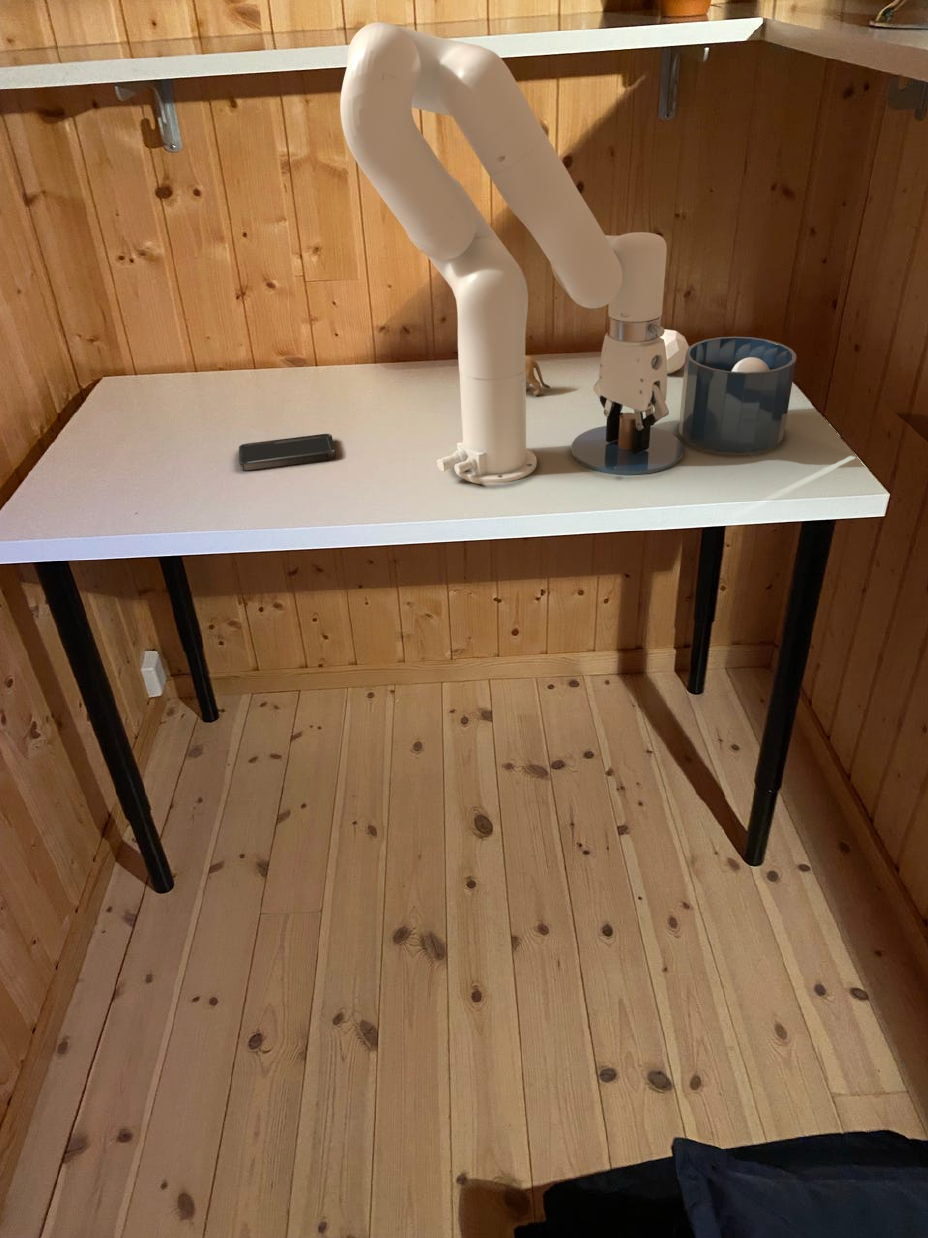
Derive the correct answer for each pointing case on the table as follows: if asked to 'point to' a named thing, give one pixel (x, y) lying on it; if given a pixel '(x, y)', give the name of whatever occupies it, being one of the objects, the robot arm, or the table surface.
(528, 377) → the lion figurine
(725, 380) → the dark blue cylindrical pot
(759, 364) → the lightbulb
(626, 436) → the lid
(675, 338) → the geometric ball
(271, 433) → the table surface
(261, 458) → the phone
